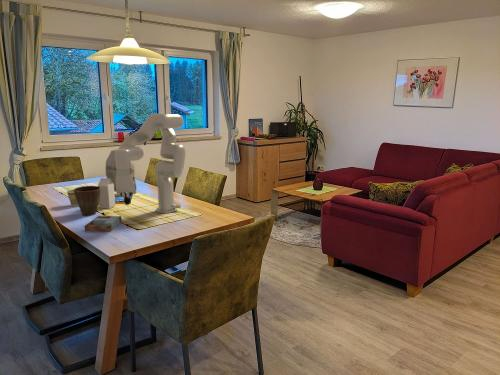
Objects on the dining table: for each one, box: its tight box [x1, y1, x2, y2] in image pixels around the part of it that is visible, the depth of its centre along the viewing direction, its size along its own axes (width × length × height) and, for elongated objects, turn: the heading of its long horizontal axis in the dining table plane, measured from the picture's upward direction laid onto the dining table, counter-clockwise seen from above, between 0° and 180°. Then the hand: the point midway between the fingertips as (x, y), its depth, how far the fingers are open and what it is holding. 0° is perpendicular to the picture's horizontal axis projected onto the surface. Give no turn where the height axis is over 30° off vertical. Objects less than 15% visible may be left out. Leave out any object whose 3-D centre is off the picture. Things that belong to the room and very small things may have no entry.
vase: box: [105, 148, 135, 190], centre depth 306 cm, size 21×21×30 cm
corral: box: [83, 215, 123, 233], centre depth 219 cm, size 14×18×3 cm
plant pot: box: [73, 185, 100, 217], centre depth 239 cm, size 15×15×16 cm
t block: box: [92, 215, 121, 231], centre depth 218 cm, size 12×12×4 cm
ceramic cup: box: [66, 189, 79, 208], centre depth 259 cm, size 13×10×10 cm
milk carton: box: [97, 177, 116, 209], centre depth 254 cm, size 7×7×19 cm
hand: (127, 204), depth 217 cm, fingers closed
